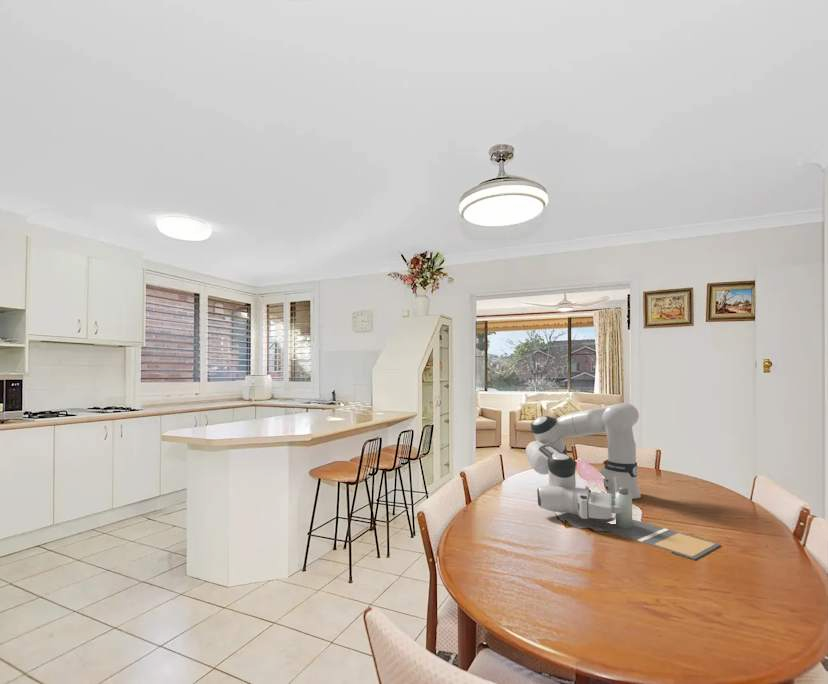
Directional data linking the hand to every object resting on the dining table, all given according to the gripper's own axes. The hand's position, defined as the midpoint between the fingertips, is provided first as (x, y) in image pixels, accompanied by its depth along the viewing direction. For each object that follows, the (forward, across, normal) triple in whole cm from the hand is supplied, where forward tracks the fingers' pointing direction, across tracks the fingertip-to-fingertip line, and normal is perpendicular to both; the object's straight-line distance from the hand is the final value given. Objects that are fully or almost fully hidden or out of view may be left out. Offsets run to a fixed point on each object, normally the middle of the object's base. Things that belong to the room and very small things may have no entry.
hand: (626, 507), depth 156 cm
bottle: (-1, 0, -6) cm, 6 cm away
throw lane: (+8, +5, -7) cm, 11 cm away
